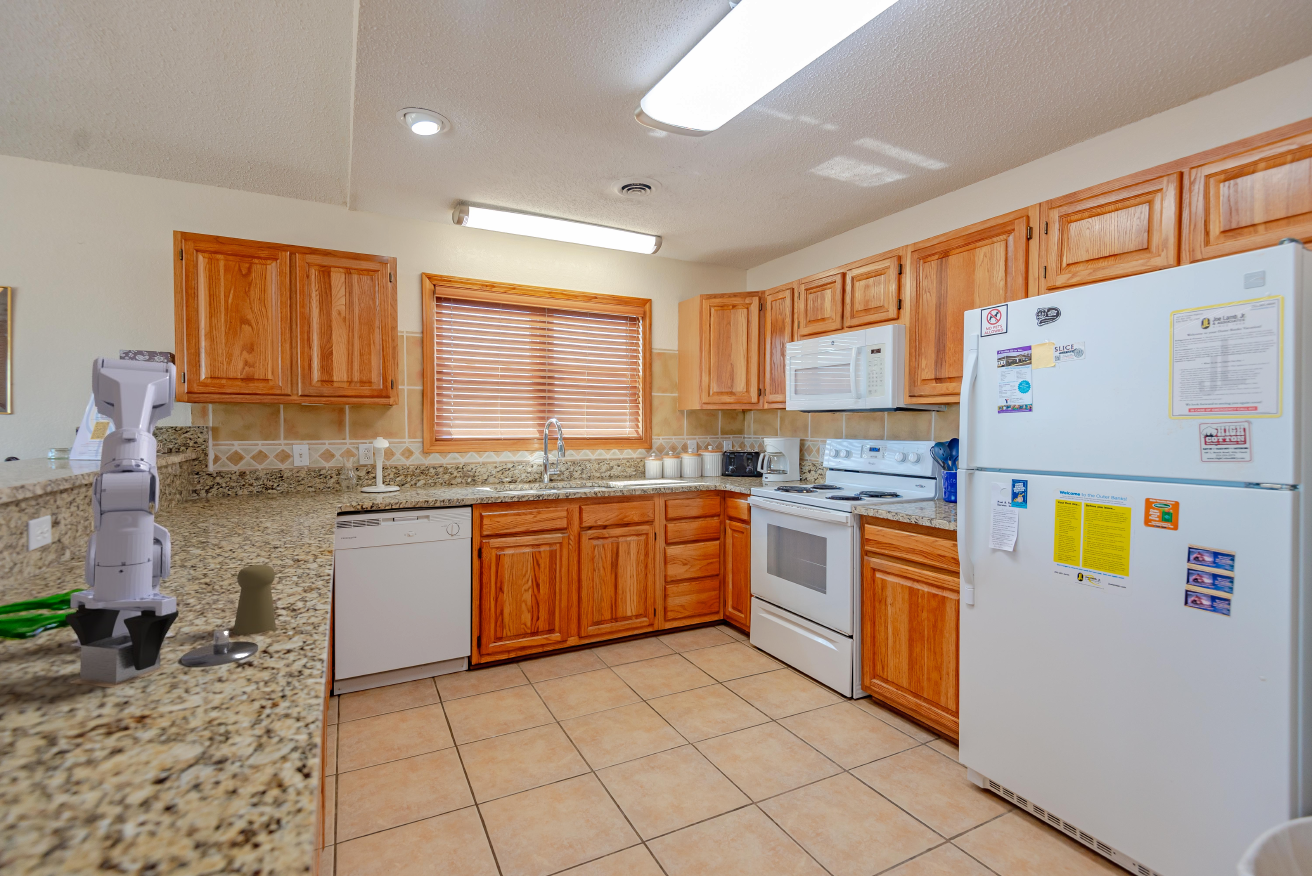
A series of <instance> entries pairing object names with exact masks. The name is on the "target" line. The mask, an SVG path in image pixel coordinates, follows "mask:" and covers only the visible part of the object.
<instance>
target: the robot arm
mask: <svg viewBox="0 0 1312 876" xmlns="http://www.w3.org/2000/svg"><path fill="white" fill-rule="evenodd" d="M91 372H92V373H91V374H92V375H91V388H92V389H91V390H92V394H93V400H94V406H95V407H96V410H97V413H98V414H100V415H101V416H105V417H106V418H109V419H111V420H112V422H113V425H114V427H115V430H114V431H112V432H109V433H107V434H106V436H104V438H103V440H102V448H101V455H100V465H99V473H98V474H99V475H98V476H97V475H96V476H94V478H93V480H92V486H91V508H92V509H91V510H92V512H93V520H94V521H93V527H94V528H93V530H95V532H93V533H92V534H90V537H89V538H88V540H87V548H86V551H85V560H84V583H85V584H86V585H87V586H88V587H90V588H89V589H85V590H82V591H78V592H73V593H71V594H70V608H71V609H76V610H75V611H74V612H71V613H67V614H65V615H64V617H65V618H64V620H65V622H67V624H69V626H70V628H72V630H73V631H74V633H75V634H76V637H77V641H76V642H75V643H72V644H71V645H70V646H73V647H80V648H81V646H82V645H85V644H88V643H92V642H95V641H98V640H102V639H105V638H109V637H112V636H115V635H119V634H122V633H126V632H129V634H130V637H131V641H132V647H133V662H134V667H135V670H143V669H146V668H148V667H151V666H154V665H155V663H156V660H157V657H158V654H159V651H160V648H161V649H162V644H163V642H164V641H165V638H166V637H169V636H172V635H174V634H173V632H169V630H170V629H171V627H172V625H173V623H174V622H175V621H176V620H177V618H178V617H179V610H177V597H176V596H169V595H166V594H162V593H160V585H161V580H163V581H164V580H165V581H166V579H167V578H169V577H170V576H171V562H172V561H171V557H172V555H171V554H172V551H171V550H172V543H171V533H170V532H169V530H168V529H167V528H166V527H164V526H162V525H161V524H158V523H156V522H155V514H156V513H157V511H158V509H159V508H158V507H159V497H160V495H159V493H160V478H159V473H158V468H157V467H158V466H157V447H158V446H157V444H158V443H157V439H156V438H155V436H154V435H153V432H154V430H155V429H156V426H157V425H158V424H157V423H158V421H160V420H163V419H166V418H167V417H168V418H169V417H171V416H172V411H174V410H175V409H174V407H175V399H176V389H177V388H176V384H177V383H176V382H177V378H176V377H177V366H176V365H175V364H173V362H169V361H168V362H167V363H166V362H156V361H146V360H145V361H144V360H131V359H122V358H121V359H117V358H108V357H107V358H104V357H103V356H98V357H97V358H95V359H94V360H93V361H92V371H91ZM151 503H153V505H154V513H155V514H154V513H153V512H152V511H150V504H151ZM160 652H161V651H160Z"/></svg>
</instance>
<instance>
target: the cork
mask: <svg viewBox="0 0 1312 876" xmlns="http://www.w3.org/2000/svg"><path fill="white" fill-rule="evenodd" d="M275 572H276V571H275V569H274V568H273V567H272V565H271V566H270V565H266V564H256V565H254V564H253V565H248V566H244V567H243V568H241V569H240V570H239V571H238V573H237V576H236V577H237V584H238V586H239V587H240V594H239V598H238V603H237V610H236V615H235V620H234V625H233V630H232V633H233V634H235V635H239V636H240V635H241V636H246V635H247V636H248V635H249V636H250V635H257V634H264V633H266V632H269V631H271V632H273V631H274V632H276V631H277V625H276V615H275V611H274V610H275V609H274V601H273V595H272V585H273V583H274V581H275V579H276V573H275ZM275 630H276V631H275Z"/></svg>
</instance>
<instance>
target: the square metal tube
mask: <svg viewBox="0 0 1312 876" xmlns="http://www.w3.org/2000/svg"><path fill="white" fill-rule="evenodd" d="M161 649H162V647H161V648H160V651H159V654H158V657H157V660H156V663H155V665H154V666H151V667H148V668H146V669H143V670H135V667H134V662H133V647H132V641H131V637H130V634H129V632H126V633H122V634H119V635H115V636H112V637H109V638H105V639H102V640H98V641H95V642H92V643H88V644H85V645H82V646H81V647H80V670H79V671H80V673H79V679H80V681H87V682H96V683H105V684H113V685H117V684H119V683H122V682H125V681H128V680H130V679H133V678H136V677H138V676H141V675H144V674H146V673H149V672H152V671H154V670H157V669H160V666H161V652H162V651H161Z"/></svg>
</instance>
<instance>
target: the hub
mask: <svg viewBox="0 0 1312 876" xmlns="http://www.w3.org/2000/svg"><path fill="white" fill-rule="evenodd" d="M258 651H259V645H258V644H257V643H255V642H251V641H245V640H244V641H243V640H242V641H230V629H228V628H227V629H226V628H224V629H218V630H215V631H213V643H212V644H208V645H204V646H200V647H198V648H195V649H192V650H188V651H187V652H185V653H184V654H182V656H181V658H180V659H181V660H180V661H181V664H182V665H185V666H188V667H197V668H198V667H200V668H202V667H214V666H222V665H226V664H231V663H235V662H239V661H242V660H245V659H248V658H250V657H253V656H255V654H257V652H258Z"/></svg>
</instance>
